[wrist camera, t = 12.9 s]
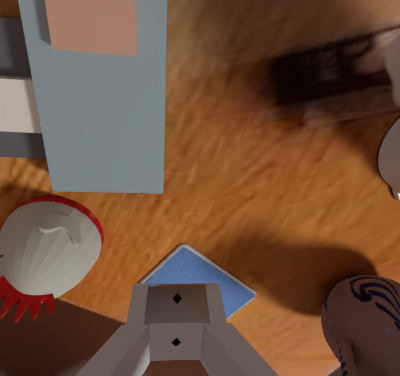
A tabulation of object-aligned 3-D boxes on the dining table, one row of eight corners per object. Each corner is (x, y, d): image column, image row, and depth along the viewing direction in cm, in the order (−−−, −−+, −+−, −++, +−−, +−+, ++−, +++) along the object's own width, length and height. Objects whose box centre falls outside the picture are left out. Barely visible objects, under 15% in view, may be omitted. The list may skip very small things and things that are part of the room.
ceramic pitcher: (378, 318, 61) (496, 474, 39) (284, 326, 59) (353, 495, 37) (406, 256, 53) (575, 408, 31) (299, 262, 51) (399, 429, 29)
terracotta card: (136, -1, 27) (134, -4, 26) (137, 55, 30) (135, 56, 28) (49, -10, 26) (42, -13, 25) (57, 49, 29) (51, 49, 27)
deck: (167, 1, 31) (167, -4, 28) (163, 180, 41) (163, 193, 37) (33, -13, 29) (14, -21, 26) (62, 177, 39) (52, 191, 36)
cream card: (44, 78, 33) (37, 81, 31) (52, 129, 36) (46, 133, 34) (-39, 73, 32) (-52, 74, 30) (-25, 125, 35) (-35, 129, 33)
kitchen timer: (30, 178, 39) (-41, 248, 26) (119, 223, 44) (98, 301, 30) (-5, 246, 43) (-82, 335, 30) (79, 280, 48) (45, 370, 35)
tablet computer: (136, 282, 50) (135, 288, 49) (183, 238, 47) (183, 243, 46) (212, 325, 58) (213, 330, 57) (257, 289, 54) (259, 295, 53)
